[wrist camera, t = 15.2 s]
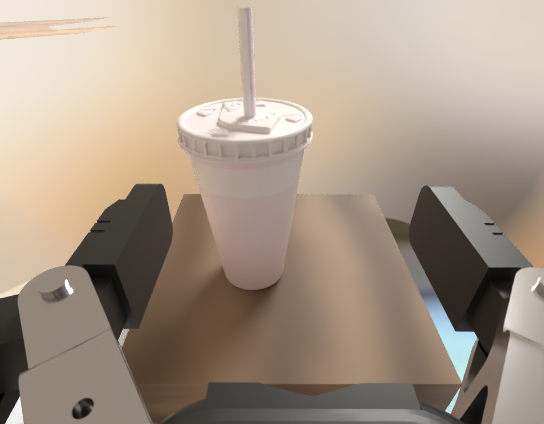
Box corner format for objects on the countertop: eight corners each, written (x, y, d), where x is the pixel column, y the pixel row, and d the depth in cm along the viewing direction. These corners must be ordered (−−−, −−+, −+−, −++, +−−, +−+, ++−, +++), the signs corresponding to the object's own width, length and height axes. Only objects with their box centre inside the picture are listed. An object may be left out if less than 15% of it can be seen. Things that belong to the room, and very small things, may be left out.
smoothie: (225, 326, 17) (181, 14, 10) (189, 254, 22) (138, 6, 14) (326, 281, 20) (355, 6, 12) (273, 226, 25) (271, 1, 17)
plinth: (365, 231, 30) (373, 194, 28) (436, 423, 17) (462, 383, 15) (190, 231, 30) (183, 194, 28) (129, 423, 17) (107, 383, 15)
